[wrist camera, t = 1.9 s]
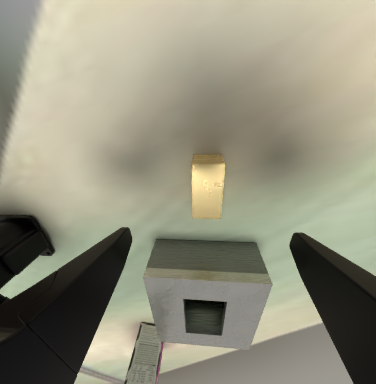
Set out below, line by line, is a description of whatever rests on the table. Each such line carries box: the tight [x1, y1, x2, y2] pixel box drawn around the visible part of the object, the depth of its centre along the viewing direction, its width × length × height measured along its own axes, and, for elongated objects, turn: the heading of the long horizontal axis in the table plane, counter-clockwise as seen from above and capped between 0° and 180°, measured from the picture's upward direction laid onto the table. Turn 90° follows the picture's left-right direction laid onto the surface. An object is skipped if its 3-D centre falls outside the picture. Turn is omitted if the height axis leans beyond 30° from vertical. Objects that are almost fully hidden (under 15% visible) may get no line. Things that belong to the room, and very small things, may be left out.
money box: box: [143, 239, 273, 350], centre depth 20 cm, size 12×14×5 cm
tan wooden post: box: [192, 154, 225, 219], centre depth 14 cm, size 2×5×3 cm, turn 2°
